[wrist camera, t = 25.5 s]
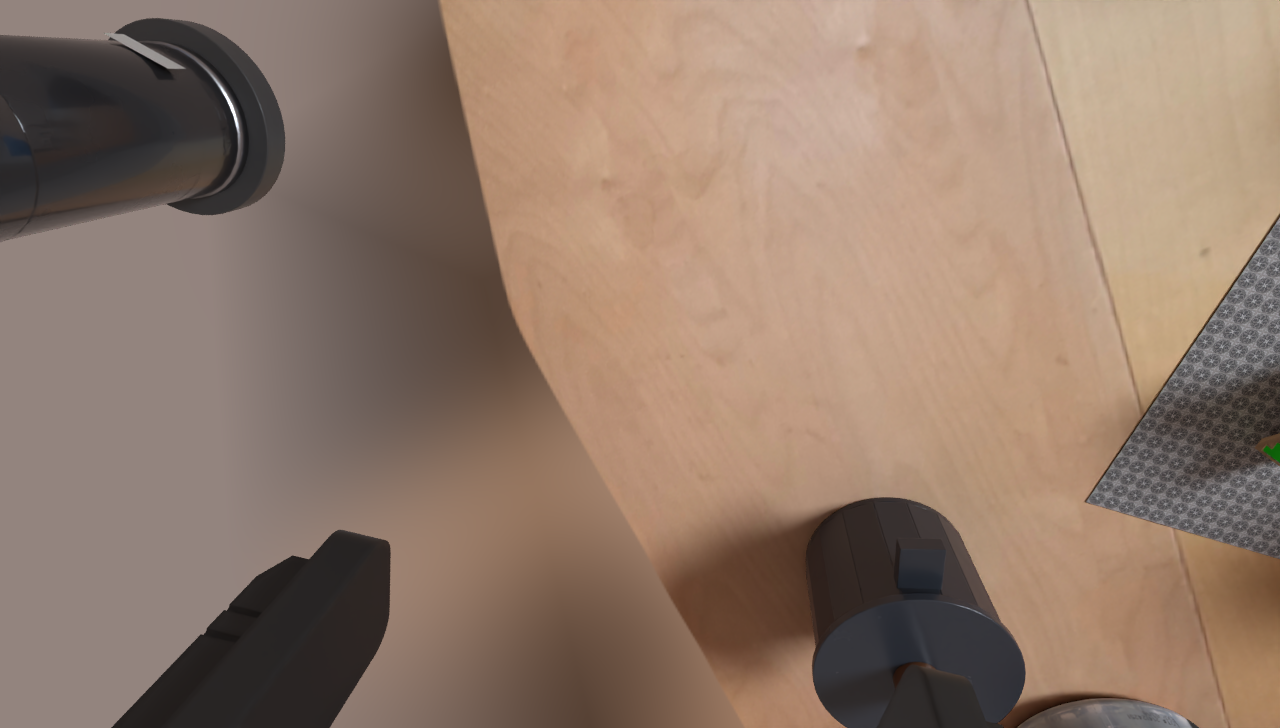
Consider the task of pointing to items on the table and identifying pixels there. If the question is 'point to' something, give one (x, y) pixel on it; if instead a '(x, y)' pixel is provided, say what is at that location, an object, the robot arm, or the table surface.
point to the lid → (914, 655)
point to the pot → (886, 559)
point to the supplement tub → (1107, 715)
